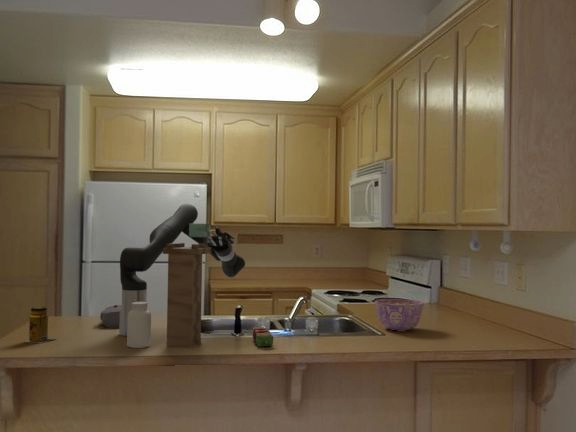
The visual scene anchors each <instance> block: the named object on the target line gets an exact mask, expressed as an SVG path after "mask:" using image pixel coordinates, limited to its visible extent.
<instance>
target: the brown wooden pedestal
mask: <svg viewBox="0 0 576 432" xmlns="http://www.w3.org/2000/svg"><path fill="white" fill-rule="evenodd" d="M210 253H211V248H208V244H206V243H205V244H198V243H195V244H194V243H192V244H191V246H189V247H188V246H185V242H177V243H176V242H175V243H174V242H173V243H172V244H167V248H163V252H162V254H163V255H168V256H167V260H168V261H167V299H166V300H167V305H166V306H167V308H166V311H167V312H166V313H167V314H166V316H167V317H166V347H167V348H180V349H182V348H183V349H193V348H194V347H196V346H198V345H200V344H201V343H202V338H201V337H202V285H203V282H202V281H203V278H202V277H203V255H206V254H208V255H209V254H210Z"/></svg>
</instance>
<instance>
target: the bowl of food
mask: <svg viewBox="0 0 576 432" xmlns="http://www.w3.org/2000/svg"><path fill="white" fill-rule="evenodd" d="M374 302H375V308H376V313H377V317H378V320H379V323H380V324H381V325H382V326H384V327H386V328H388V329H391V330H390V331H392V330H397V331H396V332H404V331H403V330H409V331H410V330H412V329H414V328H415V327H417V326H418V324H419V323H420V320H421V316H422V313H423V309H424V305H425V303H424V301H421V300H416V299H408V298H407V299H406V298H405V299H404V298H379V299H376V300H374Z"/></svg>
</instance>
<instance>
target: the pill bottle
mask: <svg viewBox="0 0 576 432" xmlns="http://www.w3.org/2000/svg"><path fill="white" fill-rule="evenodd" d="M132 309H133V310H131V311H130V312H129V313H128V322H127V336H126V346H127V347H129V348H132V349H144V348H148V347H149V346H151V341H152V335H151V334H152V313H151V310H148V309H149V308H148V301H147V302H133V303H132Z"/></svg>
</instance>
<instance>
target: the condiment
mask: <svg viewBox="0 0 576 432" xmlns="http://www.w3.org/2000/svg"><path fill="white" fill-rule="evenodd" d="M28 319H29V320H28V321H29V331H28V337H29V338H28V340H25V341H24V340H23V342H25V343H30V344H42V343H47V342H49V341H53V340H55V338H53V337H51V338H50V337H48V335H49V333H48V331H49V315H48V307H47V306H35V307H33V306H32V307H31V308H30V315H29V318H28Z"/></svg>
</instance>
